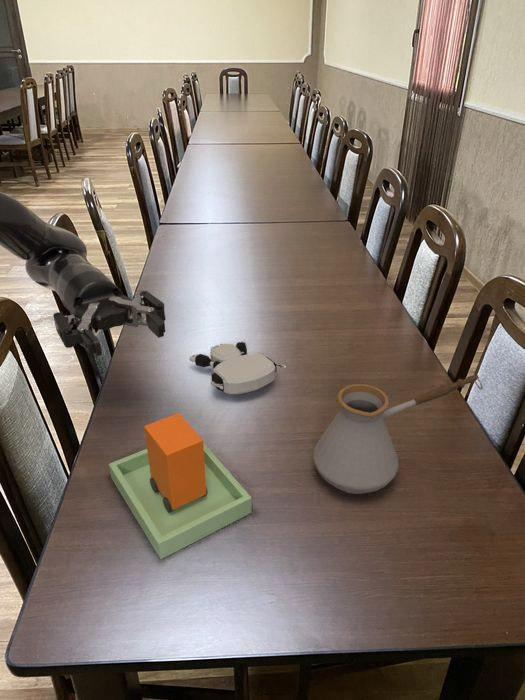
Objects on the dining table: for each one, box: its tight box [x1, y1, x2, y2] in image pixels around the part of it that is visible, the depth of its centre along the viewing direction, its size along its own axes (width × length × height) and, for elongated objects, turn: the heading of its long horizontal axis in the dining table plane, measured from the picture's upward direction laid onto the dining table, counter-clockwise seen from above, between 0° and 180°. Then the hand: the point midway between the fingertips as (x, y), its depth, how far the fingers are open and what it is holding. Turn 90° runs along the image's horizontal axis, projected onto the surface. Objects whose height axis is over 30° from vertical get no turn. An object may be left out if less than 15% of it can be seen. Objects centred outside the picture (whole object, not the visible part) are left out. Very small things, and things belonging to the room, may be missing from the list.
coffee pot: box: [312, 374, 484, 495], centre depth 71 cm, size 21×12×15 cm, turn 98°
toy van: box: [143, 412, 208, 513], centre depth 68 cm, size 7×5×10 cm
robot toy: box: [188, 341, 287, 395], centre depth 93 cm, size 12×4×15 cm
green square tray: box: [108, 442, 253, 560], centre depth 70 cm, size 16×13×3 cm
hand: (130, 340), depth 69 cm, fingers open, 8 cm apart
